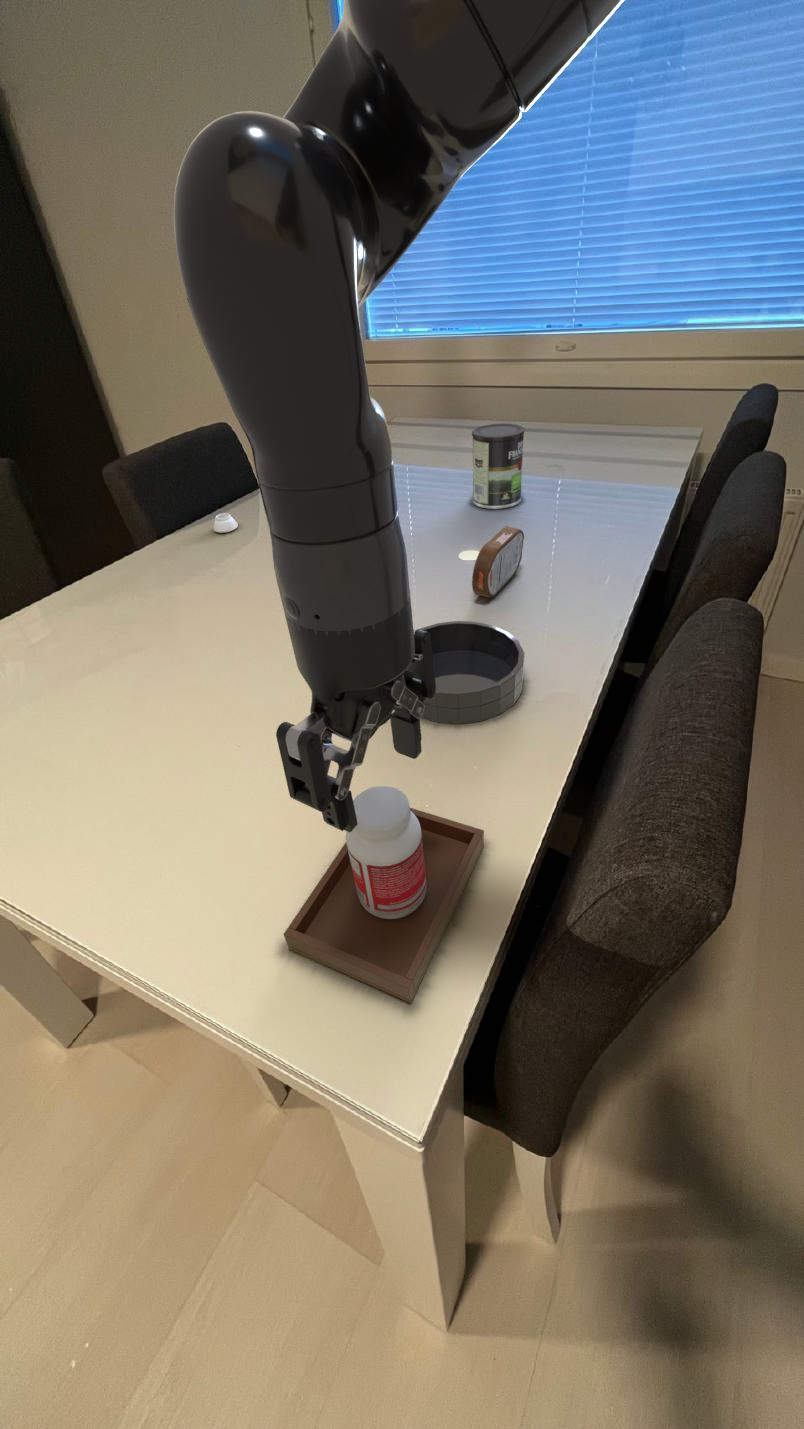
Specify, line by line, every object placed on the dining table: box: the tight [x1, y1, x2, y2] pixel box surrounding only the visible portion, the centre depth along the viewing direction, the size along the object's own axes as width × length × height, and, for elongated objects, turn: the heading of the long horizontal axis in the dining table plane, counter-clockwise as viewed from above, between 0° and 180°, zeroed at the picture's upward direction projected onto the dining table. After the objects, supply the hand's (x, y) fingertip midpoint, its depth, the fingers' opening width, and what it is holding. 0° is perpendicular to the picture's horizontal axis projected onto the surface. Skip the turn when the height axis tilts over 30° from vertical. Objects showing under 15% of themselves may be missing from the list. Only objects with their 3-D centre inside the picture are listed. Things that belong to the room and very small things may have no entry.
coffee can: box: [471, 423, 525, 510], centre depth 124 cm, size 10×10×14 cm
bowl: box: [414, 620, 526, 725], centre depth 77 cm, size 16×16×4 cm
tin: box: [471, 525, 525, 598], centre depth 96 cm, size 15×3×8 cm, turn 149°
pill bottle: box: [345, 785, 427, 919], centre depth 50 cm, size 6×6×11 cm
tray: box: [283, 807, 485, 1004], centre depth 53 cm, size 16×11×2 cm
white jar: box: [212, 512, 239, 534], centre depth 127 cm, size 5×3×5 cm
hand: (377, 786), depth 45 cm, fingers open, 8 cm apart
